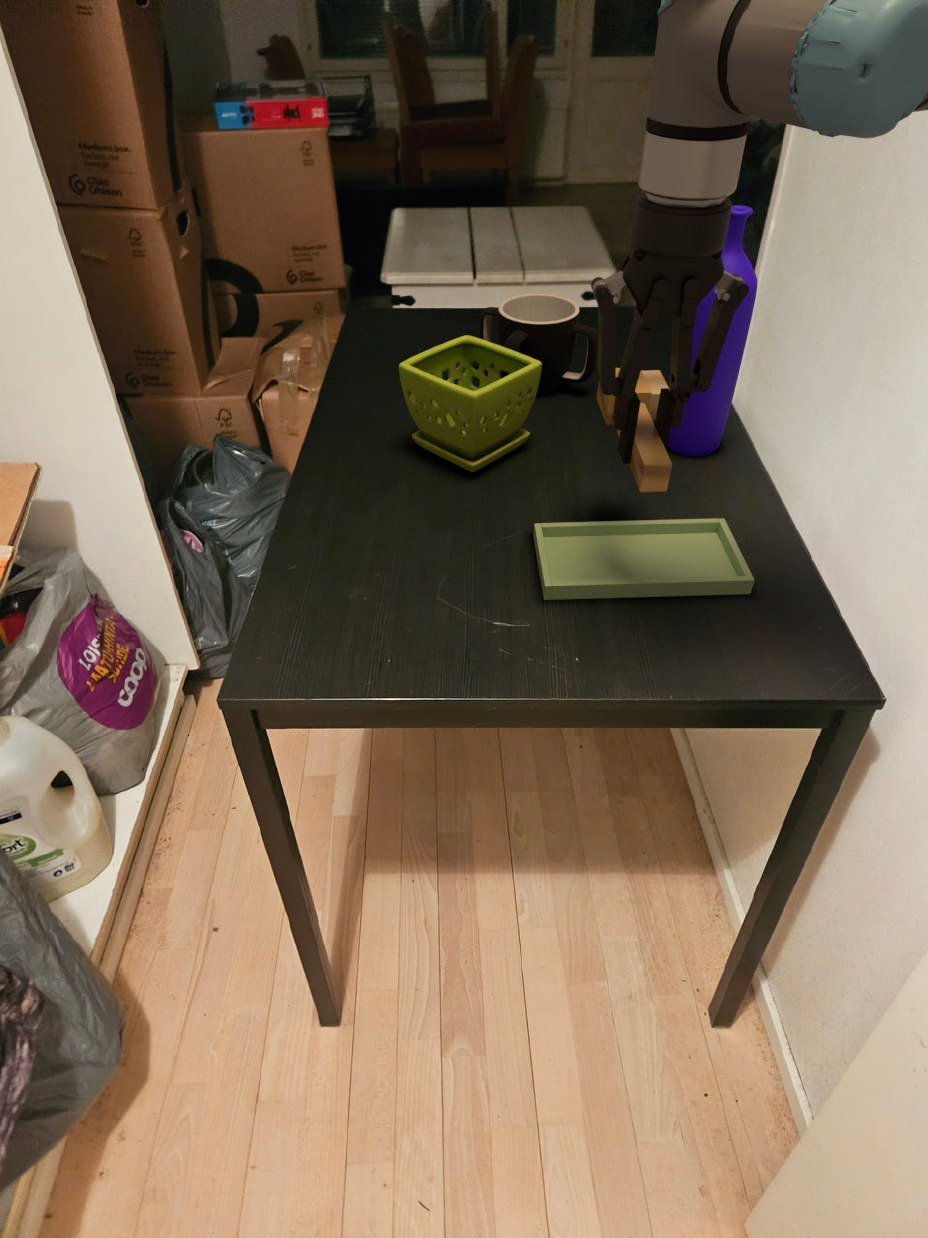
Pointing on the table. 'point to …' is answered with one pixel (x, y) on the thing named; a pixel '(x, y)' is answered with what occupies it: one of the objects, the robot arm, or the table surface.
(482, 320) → the mug
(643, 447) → the wooden mallet
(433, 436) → the flower pot
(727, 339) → the bottle
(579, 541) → the tray
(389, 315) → the table surface
